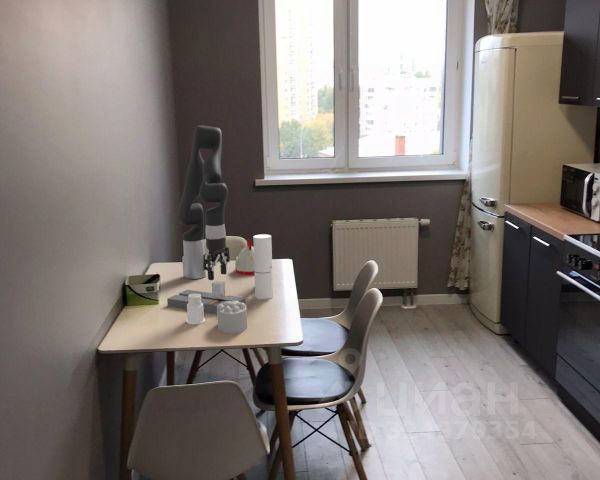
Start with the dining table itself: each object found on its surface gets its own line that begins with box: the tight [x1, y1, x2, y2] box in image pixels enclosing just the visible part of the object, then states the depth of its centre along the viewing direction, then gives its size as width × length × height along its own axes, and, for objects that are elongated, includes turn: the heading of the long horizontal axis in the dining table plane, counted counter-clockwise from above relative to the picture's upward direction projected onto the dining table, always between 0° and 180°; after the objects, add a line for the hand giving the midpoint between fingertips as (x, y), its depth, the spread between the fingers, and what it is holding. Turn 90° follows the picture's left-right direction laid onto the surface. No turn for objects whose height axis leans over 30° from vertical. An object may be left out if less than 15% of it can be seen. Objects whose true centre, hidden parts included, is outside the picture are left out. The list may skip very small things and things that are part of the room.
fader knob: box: [211, 280, 226, 301], centre depth 263 cm, size 4×3×9 cm
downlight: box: [185, 293, 206, 325], centre depth 248 cm, size 8×7×10 cm
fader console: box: [166, 289, 247, 314], centre depth 267 cm, size 28×13×3 cm, turn 63°
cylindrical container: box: [252, 233, 274, 300], centre depth 274 cm, size 7×7×25 cm
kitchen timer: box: [234, 238, 255, 276], centre depth 315 cm, size 14×14×15 cm
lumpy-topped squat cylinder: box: [216, 301, 248, 335], centre depth 241 cm, size 10×13×9 cm
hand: (217, 277), depth 262 cm, fingers open, 8 cm apart
